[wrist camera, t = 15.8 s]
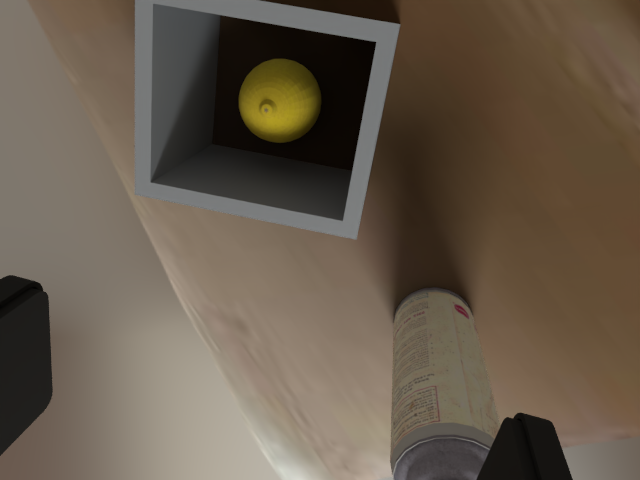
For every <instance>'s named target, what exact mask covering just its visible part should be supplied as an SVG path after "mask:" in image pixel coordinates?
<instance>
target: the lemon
mask: <svg viewBox="0 0 640 480" xmlns="http://www.w3.org/2000/svg"><path fill="white" fill-rule="evenodd" d="M320 108H321V92H320V89H319V86H318V83H317V81H316V79H315V78H314V76H313V75H312V73H311V72H310V71H309V70H308V69H307V68H306V67H304V66H303V65H301V64H299V63H297V62H296V61H292V60H288V59H272V60H269V61H265V62H263V63H261V64H260V65H258V66H256V67H255V68H254V69H253V70H252V71H251V72H250V73H249V74H248V75H247V76H246V78H245V80H244V82H243V84H242V86H241V89H240V93H239V110H240V114H241V117H242V119H243V121H244V123H245V125H246V126H247V127H248V128H249V130H250V131H251V132H252V133H254V134H255V135H256V136H258V137H259V138H261V139H264V140H266V141H269V142H275V143H284V142H290V141H293V140H295V139H298V138H300V137H302V136H303V135H304V134H306V133H307V132H308V131H309V130H310V129H311V128H312V126H313V125H314V124H315V122H316V120H317V118H318V116H319V113H320Z"/></svg>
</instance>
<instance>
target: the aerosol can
mask: <svg viewBox="0 0 640 480" xmlns="http://www.w3.org/2000/svg"><path fill="white" fill-rule="evenodd" d="M500 427H501V426H500V422H499V418H498V414H497V410H496V406H495V402H494V398H493V394H492V390H491V386H490V382H489V378H488V374H487V370H486V366H485V362H484V358H483V354H482V350H481V346H480V342H479V338H478V334H477V330H476V326H475V322H474V318H473V314H472V312H471V309H470V307H469V305H468V303H467V302H466V301H465V300H464V299H463V298H461V297H460V296H459V295H458V294H456V293H454V292H452V291H450V290H447V289H442V288H436V287H434V288H423V289H420V290H418V291H415V292H412V293H411V294H409V295H408V296H407V297H406V298H404V299H403V300H402V301H401V303H400V304H399V306H398V307H397V309H396V312H395V317H394V334H393V374H392V415H391V455H390V463H391V469H392V475H393V480H476V479H477V477H478V475H479V472H480V470H481V468H482V466H483V464H484V462H485V459H486V457H487V455H488V453H489V451H490V448H491V446H492V444H493V442H494V440H495V437H496V435H497V433H498V431H499V429H500Z"/></svg>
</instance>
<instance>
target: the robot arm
mask: <svg viewBox="0 0 640 480" xmlns="http://www.w3.org/2000/svg"><path fill="white" fill-rule="evenodd" d="M51 397H52V371H51V346H50V323H49V301H48V295H47V293H46V292H44V291H43V288H42V286H41V284H40V283H38V282H35V281H31V280H28V279H24V278H20V277H17V276H13V275H12V276H11V275H9V276H6V277H4V278H2V279H0V456H1V454H2V453H3V452H4V451H5V450H6V449H7V448H8V447H9V446H10V445H11V444H12V443H13V442H14V441H15V440H16V439H17V438H18V437H19V436H20V435H21V434H22V433H23V432H24V431H25V430H26V429H27V428H28V427H29V426H30V425H31V424H32V423H33V421H34V420H35V419H36V418H37V417H38V416H39V415H40V414H41V413H42V412H43V411H44V410H45V409H46V408H47V406H48V404H49V402H50V400H51ZM476 480H573V479H572V477H571V474H570V471H569V468H568V465H567V462H566V459H565V457H564V454H563V451H562V448H561V445H560V442H559V439H558V436H557V434H556V431H555V428H554V426H553V424H552V422H551V421H549V420H546V419H542V418H539V417H535V416H531V415H527V414H524V413H517V414H516V415H515V417H514V418H513V419H512V418H508V417H507V418H505V419H504V421H503V422H502V424H501V427H500V429H499V431H498V433H497V435H496V437H495V440H494V442H493V444H492V446H491V448H490V451H489V453H488V455H487V457H486V459H485V462H484V464H483V466H482V468H481V470H480V472H479V475H478V477H477V479H476Z"/></svg>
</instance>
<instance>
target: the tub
mask: <svg viewBox="0 0 640 480" xmlns="http://www.w3.org/2000/svg"><path fill="white" fill-rule="evenodd" d="M221 15H223V16H229V17H234V18H240V19H246V20H252V21H258V22H263V23H269V24H275V25H281V26H286V27H292V28H298V29H304V30H310V31H315V32H321V33H327V34H333V35H339V36H344V37H350V38H356V39H362V40H367V41H373V42H376V47H375V53H374V58H373V63H372V69H371V74H370V79H369V85H368V90H367V95H366V101H365V106H364V111H363V117H362V122H361V127H360V133H359V138H358V143H357V149H356V154H355V159H354V165H353V170H352V171H350V170H344V169H339V168H334V167H329V166H324V165H319V164H313V163H308V162H303V161H298V160H293V159H287V158H282V157H277V156H272V155H267V154H261V153H256V152H251V151H246V150H241V149H236V148H230V147H225V146H220V145H215V144H212V142H213V127H214V112H215V97H216V82H217V66H218V51H219V36H220V21H221ZM399 30H400V24H396V23H390V22H384V21H378V20H372V19H366V18H360V17H354V16H348V15H342V14H337V13H331V12H325V11H319V10H313V9H307V8H301V7H295V6H289V5H284V4H278V3H272V2H266V1H260V0H135V195H139V196H144V197H149V198H154V199H159V200H164V201H169V202H174V203H179V204H183V205H188V206H193V207H198V208H203V209H208V210H213V211H218V212H223V213H228V214H233V215H238V216H243V217H247V218H252V219H257V220H262V221H267V222H272V223H277V224H282V225H287V226H292V227H297V228H302V229H307V230H311V231H316V232H321V233H326V234H331V235H336V236H341V237H346V238H351V239H357V234H358V230H359V225H360V220H361V215H362V211H363V206H364V201H365V196H366V192H367V187H368V182H369V177H370V172H371V167H372V162H373V157H374V152H375V148H376V143H377V138H378V133H379V128H380V123H381V118H382V113H383V108H384V103H385V98H386V93H387V89H388V84H389V79H390V74H391V69H392V64H393V59H394V54H395V49H396V44H397V39H398V34H399Z"/></svg>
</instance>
